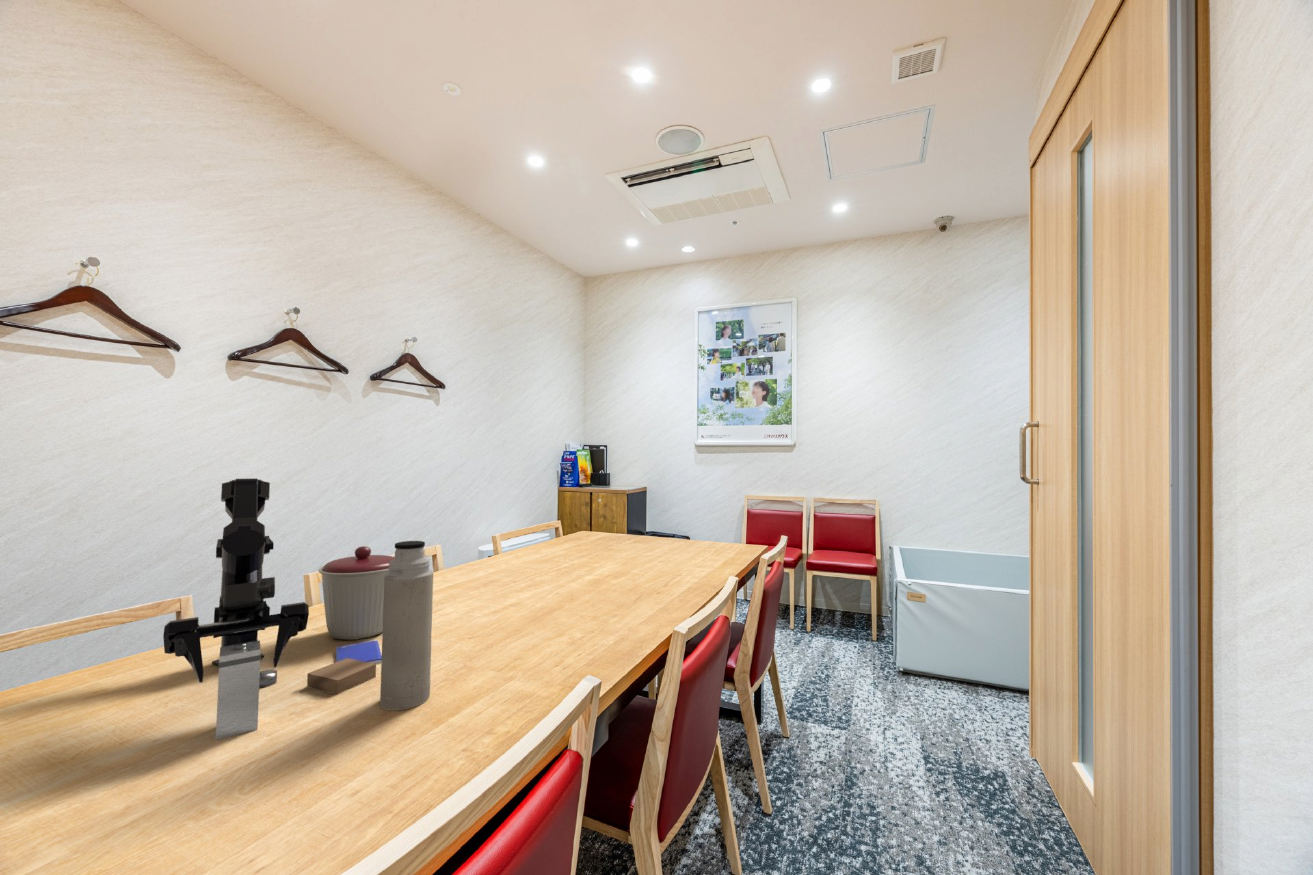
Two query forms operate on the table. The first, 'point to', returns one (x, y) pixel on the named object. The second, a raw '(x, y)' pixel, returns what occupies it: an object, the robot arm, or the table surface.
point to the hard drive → (360, 652)
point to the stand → (341, 675)
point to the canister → (355, 594)
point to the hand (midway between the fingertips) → (239, 673)
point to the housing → (238, 689)
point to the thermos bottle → (406, 628)
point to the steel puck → (267, 678)
